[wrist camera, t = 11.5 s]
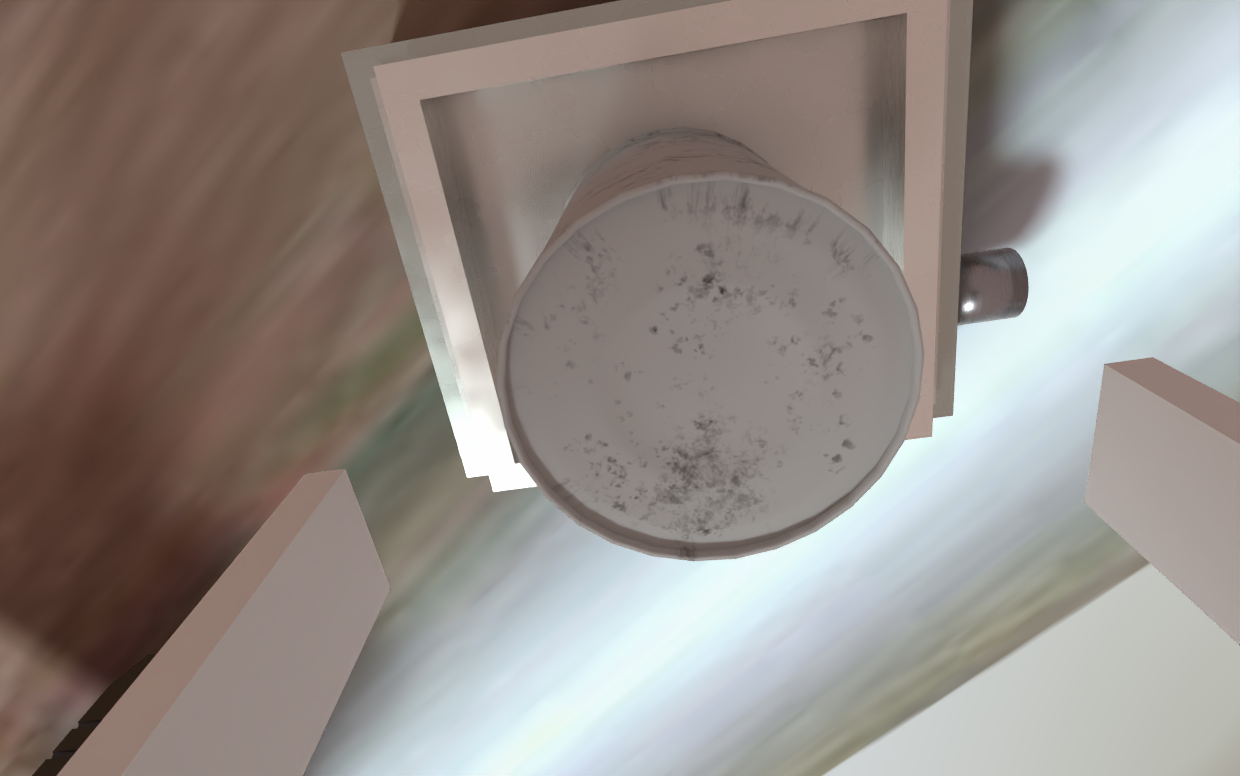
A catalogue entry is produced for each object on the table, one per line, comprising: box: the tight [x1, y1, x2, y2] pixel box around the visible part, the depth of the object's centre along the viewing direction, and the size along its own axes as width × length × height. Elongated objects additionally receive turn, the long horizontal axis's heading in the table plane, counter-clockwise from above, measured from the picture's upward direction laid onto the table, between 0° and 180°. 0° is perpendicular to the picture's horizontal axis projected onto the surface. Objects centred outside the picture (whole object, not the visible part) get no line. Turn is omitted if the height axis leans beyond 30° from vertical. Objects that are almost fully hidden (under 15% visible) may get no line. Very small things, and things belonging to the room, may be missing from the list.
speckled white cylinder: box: [497, 127, 924, 561], centre depth 21 cm, size 10×10×12 cm
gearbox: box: [341, 0, 1028, 492], centre depth 28 cm, size 25×18×8 cm
